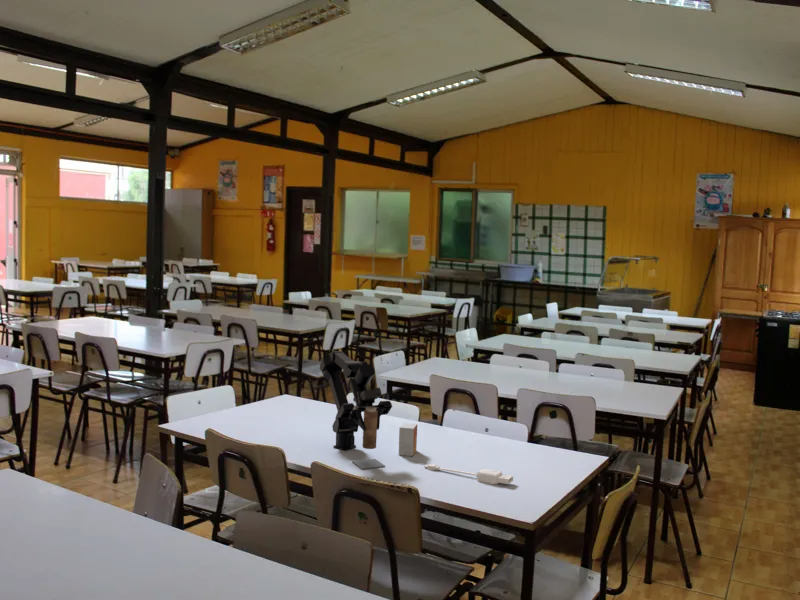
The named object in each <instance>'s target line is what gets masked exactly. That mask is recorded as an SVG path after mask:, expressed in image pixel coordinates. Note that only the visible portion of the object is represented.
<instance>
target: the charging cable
mask: <svg viewBox="0 0 800 600" xmlns="http://www.w3.org/2000/svg"><path fill="white" fill-rule="evenodd" d="M423 467H424V468H426V469H427V470H428V469H429V471H433V470H435V471H440V470H442V471H448V472H453V473H459V474H465V475H471V476H476V478H477V482H479V481H482V482H481V483H485V482H488V483H487V484H490V483H492V484H491V485H495V484H497V485H499V484H505V485H509V484H511V483H512V482H514V476H513V475H507V474H503V472H502V471H501V470H500V471H499V470H494V469H487V468H482V469H481V470H478V472H477V473H475V472H470V471H469V472H468V471H462V470H457V469H453V468H452V469H451V468H445V467H441V466H440V465H438V464H433V463H429V464H426V465H424V466H423Z"/></svg>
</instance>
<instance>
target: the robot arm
mask: <svg viewBox="0 0 800 600" xmlns="http://www.w3.org/2000/svg"><path fill="white" fill-rule="evenodd" d="M319 370H320V372H321V373H322V376H323V378H324V379H325V380H327V381H328V382H329V385H330V389H331V393H332V396H333V400H334V403H335V406H336V410H337V412H336V415H335V419H334V421H333V424H331V425H332V431H333V432H334V433H335V445H333V448H335V449H340V450H344V451H348V450H351V449H354V448H356V446H357V445H356V444H355V432H356V433H357V432H358V429H359V428H360V429H361V430H362V432H363V431H365V430H366V428H365V424H364V417H363V416H362V415H363V414H362V413H364V410H366V407H376V410H377V411H378V413H377V431H379V429H380V421H381V420H380V419H381V416H385V415H388V414H389V413H390V411H391V409H392V408H393V404H392V402H391V401H390V400H380V401H379V402H378V404H376V405H374V404H375V403H376V401H375V400H377V399H378V398H380V397H382V391H381V388H380V387H375V388H373V389H369V388H368V385H369V384H370V383H371V380H372V379H373V377H374V375H375V373H376V371H375V368H374V367H373V366H372V365H371V364H368V361H357V360H356V361H355V360H353V359H351V358H350V357H349V356H347V355H346V354H345V352H344V351H342V350H339V351H338V350H337V351H336V350H335V351H331V352H330V353H329V354H328V355H326V356H325V357H323V358H322V360H321V361H320V364H319ZM342 371H343V373H342ZM341 374H343V376H344V377H345V378H346V379H351V380H350V382H349V389H351V391H352V394H353V395H352V396H353V398H352V400H353V402H354V403H355V405H354V403H353V402H349V401H348V398H347V394H346V392H345V387H344V384H343V381H342V378H341Z"/></svg>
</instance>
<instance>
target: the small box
mask: <svg viewBox="0 0 800 600" xmlns="http://www.w3.org/2000/svg"><path fill="white" fill-rule="evenodd" d="M398 429H399V431H398V432H399V436H398V456H408V457H409V456H411V457H413V456H414V455H415V453H416V452H417V447H418V446H417V443H418V423H408V422H404V423H402V424H401V426H400V427H399V428H398Z"/></svg>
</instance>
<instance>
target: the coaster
mask: <svg viewBox="0 0 800 600" xmlns="http://www.w3.org/2000/svg"><path fill="white" fill-rule="evenodd" d="M351 462H352V464H353V465H355V466H357V468H359V469H360V470H362V469H363V470H370V469H371V470H372V469H379V468H380V467H381V468H386V465H384V464H383V463H382V462H381V461H379V460H378V459H376V458H371V459H362V460H353V461H351Z"/></svg>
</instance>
